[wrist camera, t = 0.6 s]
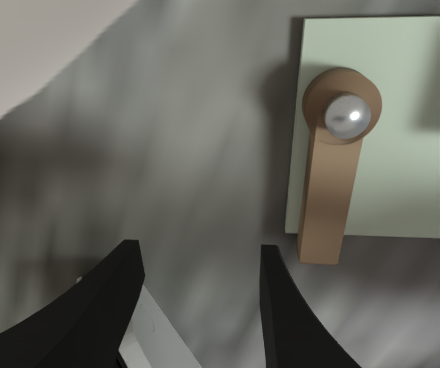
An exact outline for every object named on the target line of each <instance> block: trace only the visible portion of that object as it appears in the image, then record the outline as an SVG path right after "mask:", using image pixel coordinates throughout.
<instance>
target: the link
mask: <svg viewBox="0 0 440 368" xmlns="http://www.w3.org/2000/svg"><path fill="white" fill-rule="evenodd" d="M342 92H352V93H355V94H357V95H359V96H360V97H361V98H362V99H363V100H364V101H365V102H366V103H367V104H368V106H369V108H370V111H371V119H370V122H369V124H368V126H367V128H366V129H365V130H364V131H363V132H362V133H361V134H359V135H357V136H355V137H353V138H348V139H342V138H338V137H336V136H334V135H332V134H331V133H330V132H329V130H328V128H327V126H326V125H325V123H324V120H323V109H324V107H325V105H326V103H327V102H328V101H329V100H330V99H331V98H332V97H333V96H335V95H337V94H339V93H342ZM381 111H382V98H381V95H380V92H379V90H378V88H377V87H376V85H375V84H374V83H373V82H371V81H370V80H369V79H368V78H366V77H365V76H364V75H362V74H361V73H360V72H358V71H356V70H354V69H351V68H346V67H338V68H332V69H329V70H327V71H324V72H322V73H321V74H319V75H318V76H317V77H315V78H314V79H313V80H312V81H311V83H310V84H309V85H308V87H307V88H306V90H305V92H304V95H303V99H302V112H303V116H304V118H305V121H306V123H307V126H308V128H309V130H310V135H309V144H308V152H307V161H306V170H305V178H304V187H303V195H302V204H301V213H300V221H299V230H298V238H297V253H298V258H299V263H305V264H329V265H338V261H339V256H340V251H341V246H342V241H343V236H344V231H345V226H346V221H347V216H348V211H349V206H350V201H351V196H352V191H353V186H354V182H355V177H356V172H357V167H358V162H359V157H360V152H361V147H362V142H363V138H364V137H365V136H366V135H367V134H369V133H370V132H371V130H372V129H373V128H374V127H375V125H376V124H377V122H378V120H379V118H380V115H381Z"/></svg>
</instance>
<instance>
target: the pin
mask: <svg viewBox="0 0 440 368" xmlns="http://www.w3.org/2000/svg"><path fill="white" fill-rule="evenodd" d="M370 119H371V111H370V108H369V106H368V104H367V103H366V102H365V101H364V100H363V99H362V98H361V97H360V96H359V95H357V94H355V93H352V92H342V93H339V94H337V95H335V96H333V97H332V98H331V99H330V100H329V101H328V102H327V103H326V105H325V107H324V109H323V120H324V123H325V125H326V126H327V128H328V130H329V132H330V133H331V134H332V135H334V136H336V137H338V138H342V139H348V138H353V137H355V136H357V135H359V134H361V133H362V132H363V131H364V130H365V129H366V128H367V126H368V124H369V122H370Z"/></svg>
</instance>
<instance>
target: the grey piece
mask: <svg viewBox="0 0 440 368" xmlns="http://www.w3.org/2000/svg"><path fill="white" fill-rule="evenodd" d="M82 278H83V277H82V276H81V277H79V278H78V279H77V281H76V283H77V282H79V281H80V280H81V279H82ZM113 368H202V367H201V366H200V365H199V363H198V362H197V360H196V359H195V357H194V356H193V355H192V353H191V352H190V350H189V349H188V347H187V346H186V345H185V343H184V342H183V340H182V339H181V338H180V336H179V335H178V333H177V332H176V330H175V329H174V328H173V326H172V325H171V323H170V322H169V320H168V319H167V318H166V316H165V315H164V313H163V312H162V311H161V309H160V308H159V306H158V305H157V303H156V302H155V301H154V299H153V298H152V296H151V295H150V294H149V292H148V291H147V289H146V288H145V286H144V285H143V286H142V290H141V293H140V297H139V300H138V302H137V305H136V308H135V310H134V313H133V315H132V318H131V320H130V323H129V325H128V327H127V330H126V332H125V335H124V337H123V340H122V342H121V345H120V347H119V350H118V353H117V356H116V359H115V362H114V366H113Z"/></svg>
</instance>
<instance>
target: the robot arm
mask: <svg viewBox="0 0 440 368" xmlns="http://www.w3.org/2000/svg"><path fill="white" fill-rule="evenodd" d="M144 278H145V273H144V267H143V262H142V256H141V251H140V246H139V240H125V239H124V240H123V241H122V242H121V243H120V244H119V245H118V246H117V247H116V248H115V249H114V250H113V251H112V252H111V253H110V254H109V255H108V256H106V257H105V258H104V259H103V260H102V261H101V262H100V263H99V264H98V265H97V266H96V267H95V268H94V269H92V270H91V271H90V272H89V273H88V274H87V275H86V276H85V277H83V278H82V279H81V280H80V281H79V282H77V283H76V284H75V285H74V286H73V287H72V288H70V289H69V290H68V291H66V292H65V293H64V294H62V295H61V296H60V297H58V298H57V299H56V300H54V301H53V302H51V303H50V304H49V305H47V306H46V307H44V308H43V309H41V310H39V311H38V312H36V313H35V314H33V315H31V316H30V317H28V318H27V319H25V320H24V321H22V322H20V323H18V324H17V325H15V326H13V327H11V328H10V329H8V330H6V331H4V332H2V333H0V368H113V366H114V362H115V359H116V356H117V353H118V350H119V347H120V345H121V342H122V340H123V337H124V335H125V332H126V330H127V327H128V325H129V323H130V320H131V318H132V315H133V313H134V310H135V308H136V305H137V302H138V300H139V297H140V293H141V290H142V286H143V282H144ZM260 311H261V321H262V330H263V339H264V348H265V357H266V368H362V367H360V366H359V365H358V364H357V363H356V362H355V361H354V360H353V359H352V358H351V357H350V356H349V355H348V354H347V352H346V351H345V350H344V349H343V348H342V347H341V346H340V345H339V344H338V342H337V341H336V340H335V339H334V338H333V337H332V336H331V335H330V333H329V332H328V331H327V330H326V329H325V327H324V326H323V325H322V324H321V322H320V321H319V320H318V318H317V317H316V316H315V314H314V313H313V311H312V310H311V309H310V307H309V306H308V304H307V303H306V301H305V299H304V298H303V296H302V295H301V293H300V291H299V290H298V288H297V286H296V285H295V283H294V281H293V279H292V277H291V275H290V273H289V271H288V269H287V267H286V265H285V263H284V261H283V258H282V256H281V253H280V250H279V247H278V246H277V245H261V261H260Z"/></svg>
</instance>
